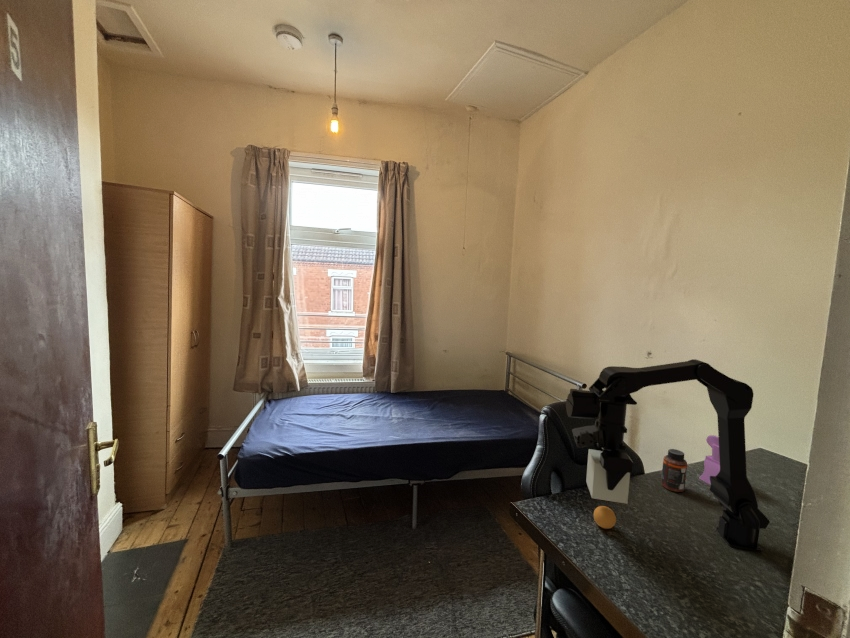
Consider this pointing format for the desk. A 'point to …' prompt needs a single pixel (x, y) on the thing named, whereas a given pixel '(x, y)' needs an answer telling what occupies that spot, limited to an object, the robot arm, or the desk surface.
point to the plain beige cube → (604, 481)
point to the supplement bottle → (674, 471)
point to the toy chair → (711, 460)
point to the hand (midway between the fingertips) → (606, 480)
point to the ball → (604, 517)
